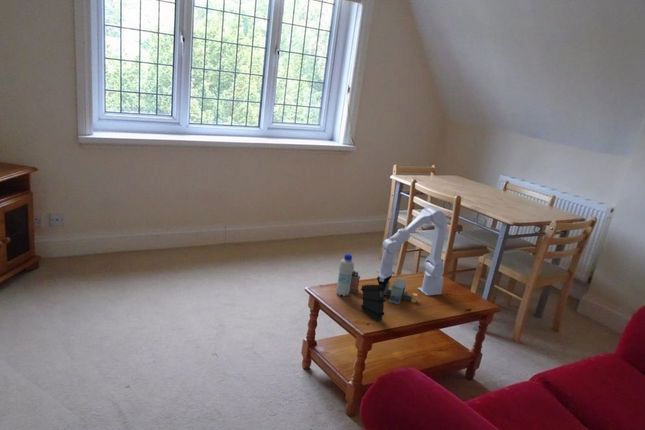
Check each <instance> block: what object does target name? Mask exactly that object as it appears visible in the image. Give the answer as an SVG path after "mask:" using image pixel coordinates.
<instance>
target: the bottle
mask: <svg viewBox="0 0 645 430" xmlns="http://www.w3.org/2000/svg"><path fill="white" fill-rule="evenodd" d="M354 265H355V261H354V260H353V255H351V254H349V253H346V254H345V255H344V257H343V258H342V259H341V260H340V263H339V267H338V270H339V271H338V278H337V284H336V288H335V289H336V290H335V292H336V294H337V295H338V296H339V297H341V295H342V297H347V296H348V295H349V293H350V292H351V291H350V283H351V277H352V272H353V270H355V269H354V268H355V267H354Z"/></svg>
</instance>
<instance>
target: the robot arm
mask: <svg viewBox="0 0 645 430" xmlns="http://www.w3.org/2000/svg"><path fill="white" fill-rule="evenodd" d="M446 217H447V215H446V214H445V213H444V212H443V211H442V210H439V209H438V208H436V207H435V206H434V205H431V204H429V205H426V206H425V207H424V208H423V209H421V211H420V213H419V214H418V215H417V216H416V217H415V219H413V220H412V221H411V222H410V223H409V224H408V225H407V226H406V227H402V228H399V229H398V230H397V231H396V233H394V234H393V235H392V236H390V237H389V238H386V239H384V241H383V242H382V243H381V246H382V248H383V250H382V257H381V261H380V267H379V269H377V270H376V272H377V273H378V274H379V276H378V275H377V278H376V279H377V282H378V285H383V287H384V289H383V292H384V290H385V287H386V284H387V283H388V282H390V280H391V278H392V277H393V267H394V262H395V258H396V257H395V256H396V253H398V251H399V249H400V247H401V246H402V245H403V244H404V243H405V242H406V241H408V240H409V239H410V238H411V234H412V233H413V232H415V231H416V230H417V229H419V228H420V227H422V226H423V225H424V224H425V225H426V224H427V225H432V224H433V225H434V230H433V235H432V241H431V247H430V253H429V255H427V256H426V259H425V261H424V262H423V269H424V276H423V280H422V284H421V287H418V286H417V289H418V290H419V291H420V292H421V293H422V294H424V295H425V296H435V295H436V296H437V295H438V296H439V295H442V294H443V291H442V290H443V286H444V277H443V274H444V272H445V271H444V262H443V260H442V255H443V251H444V250H443V249H444V244H445V240H446V239H445V238H446V233H447V227H448V221H447V218H446Z"/></svg>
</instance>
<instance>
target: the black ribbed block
mask: <svg viewBox="0 0 645 430" xmlns="http://www.w3.org/2000/svg"><path fill="white" fill-rule="evenodd" d="M383 289H384V287H383V285H379V284H365V285H361V288H360V291H362V296H361V300H362V304H361V305H360V307H361V310H362V311H363V313H366V314H367V315H368V316H369V317H371V318H372V319H373V320H374V321H376V322H379V321H382V320H383V316H385V312H384V308H385V307H384V306H385V302H386V299H385V297H384V296H385V295H384V293H383Z"/></svg>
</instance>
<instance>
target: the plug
mask: <svg viewBox="0 0 645 430" xmlns="http://www.w3.org/2000/svg"><path fill="white" fill-rule="evenodd" d="M390 284H391V282H390V281H389V282H388V283H387V284H386V287H385V290H384V292H383V293H384V296H390V295H391V290H392V289H390V286H391V285H390ZM418 294H419V293H414V292H413V293H412V295H410V294H406V293H405V294H404V293H402V298H401V300H405V301H408V302H412V303H414V304H415V303H416V302H417V298H418Z"/></svg>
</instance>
